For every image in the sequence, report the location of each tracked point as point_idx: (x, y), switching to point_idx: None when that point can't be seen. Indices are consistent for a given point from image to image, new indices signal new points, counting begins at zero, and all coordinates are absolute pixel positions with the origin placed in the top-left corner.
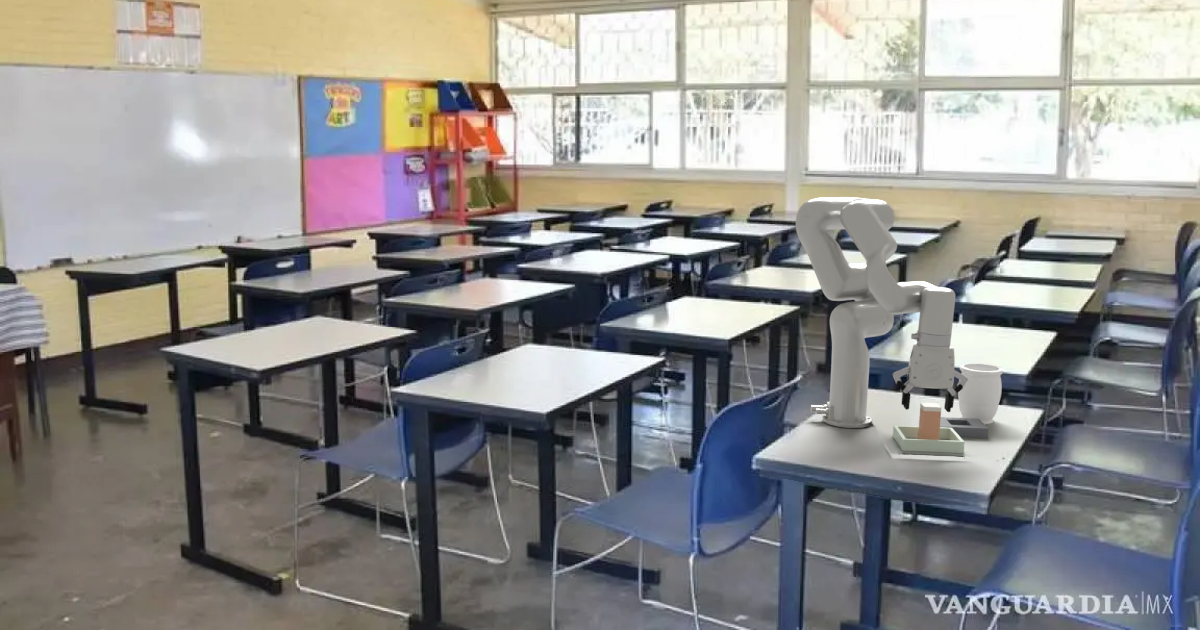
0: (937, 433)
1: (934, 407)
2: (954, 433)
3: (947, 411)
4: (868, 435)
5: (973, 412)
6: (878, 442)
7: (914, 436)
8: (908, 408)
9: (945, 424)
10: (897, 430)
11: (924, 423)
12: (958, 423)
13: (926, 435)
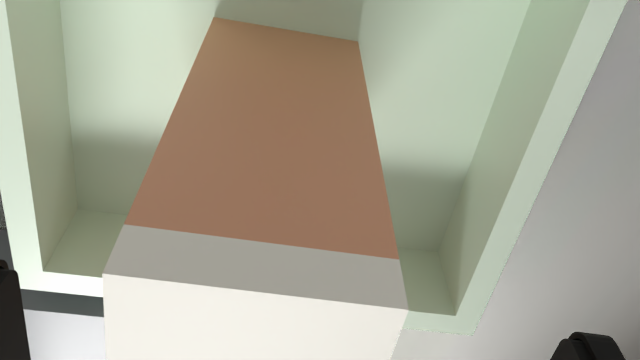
0: (210, 74)
1: (228, 283)
2: (18, 142)
3: (9, 282)
4: (554, 326)
5: None
6: (580, 210)
7: None
8: (577, 343)
9: (57, 356)
10: (518, 226)
11: (359, 148)
12: None
13: (321, 82)
